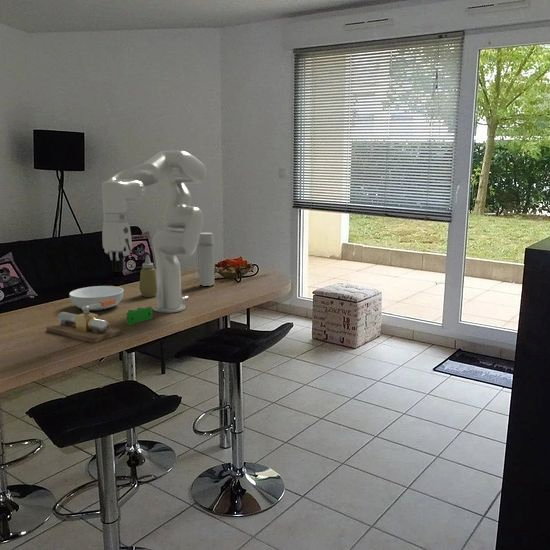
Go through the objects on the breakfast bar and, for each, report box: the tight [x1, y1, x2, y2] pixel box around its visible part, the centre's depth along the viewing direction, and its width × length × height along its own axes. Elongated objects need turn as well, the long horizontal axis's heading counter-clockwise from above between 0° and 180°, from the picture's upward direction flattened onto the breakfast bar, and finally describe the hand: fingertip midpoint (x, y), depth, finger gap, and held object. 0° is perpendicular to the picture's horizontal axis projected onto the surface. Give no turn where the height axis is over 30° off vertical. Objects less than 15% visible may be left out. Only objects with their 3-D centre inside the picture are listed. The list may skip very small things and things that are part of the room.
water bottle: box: [194, 232, 215, 286], centre depth 273 cm, size 9×8×25 cm
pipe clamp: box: [126, 306, 153, 326], centre depth 215 cm, size 11×4×5 cm, turn 145°
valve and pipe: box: [57, 311, 110, 334], centre depth 199 cm, size 5×22×5 cm, turn 58°
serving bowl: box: [68, 285, 125, 311], centre depth 233 cm, size 21×21×7 cm
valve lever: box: [81, 299, 117, 315], centre depth 202 cm, size 13×3×3 cm, turn 148°
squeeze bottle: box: [139, 254, 157, 298], centre depth 252 cm, size 8×8×18 cm
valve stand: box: [46, 322, 122, 344], centre depth 200 cm, size 12×24×2 cm, turn 58°
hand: (117, 271), depth 199 cm, fingers closed
